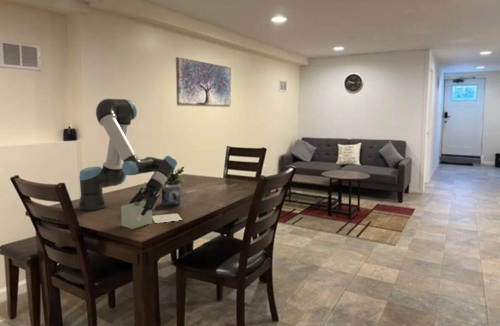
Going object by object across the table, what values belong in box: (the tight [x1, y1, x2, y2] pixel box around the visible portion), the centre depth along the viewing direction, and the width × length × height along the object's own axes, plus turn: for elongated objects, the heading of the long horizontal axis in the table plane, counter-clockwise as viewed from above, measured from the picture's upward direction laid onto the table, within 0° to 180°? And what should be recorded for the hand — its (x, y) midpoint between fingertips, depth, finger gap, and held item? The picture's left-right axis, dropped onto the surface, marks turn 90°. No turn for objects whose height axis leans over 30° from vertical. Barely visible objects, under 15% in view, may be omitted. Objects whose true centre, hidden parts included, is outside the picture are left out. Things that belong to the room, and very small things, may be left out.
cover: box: [120, 200, 153, 230], centre depth 181 cm, size 12×8×11 cm
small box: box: [161, 186, 181, 207], centre depth 220 cm, size 11×6×10 cm, turn 105°
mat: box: [152, 213, 183, 224], centre depth 192 cm, size 14×13×1 cm
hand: (131, 218), depth 179 cm, fingers closed on cover, 8 cm apart
